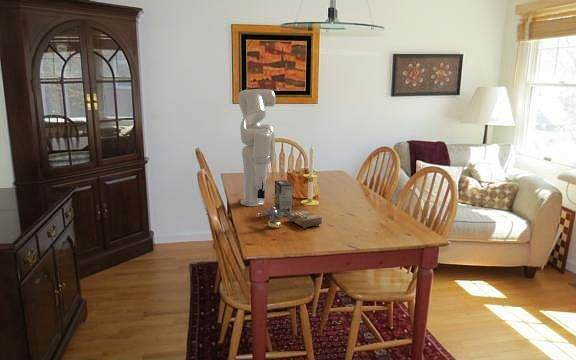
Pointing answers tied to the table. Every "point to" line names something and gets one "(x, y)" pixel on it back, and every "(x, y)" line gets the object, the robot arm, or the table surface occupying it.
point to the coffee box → (283, 196)
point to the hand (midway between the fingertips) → (261, 197)
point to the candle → (310, 181)
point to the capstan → (272, 216)
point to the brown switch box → (304, 218)
